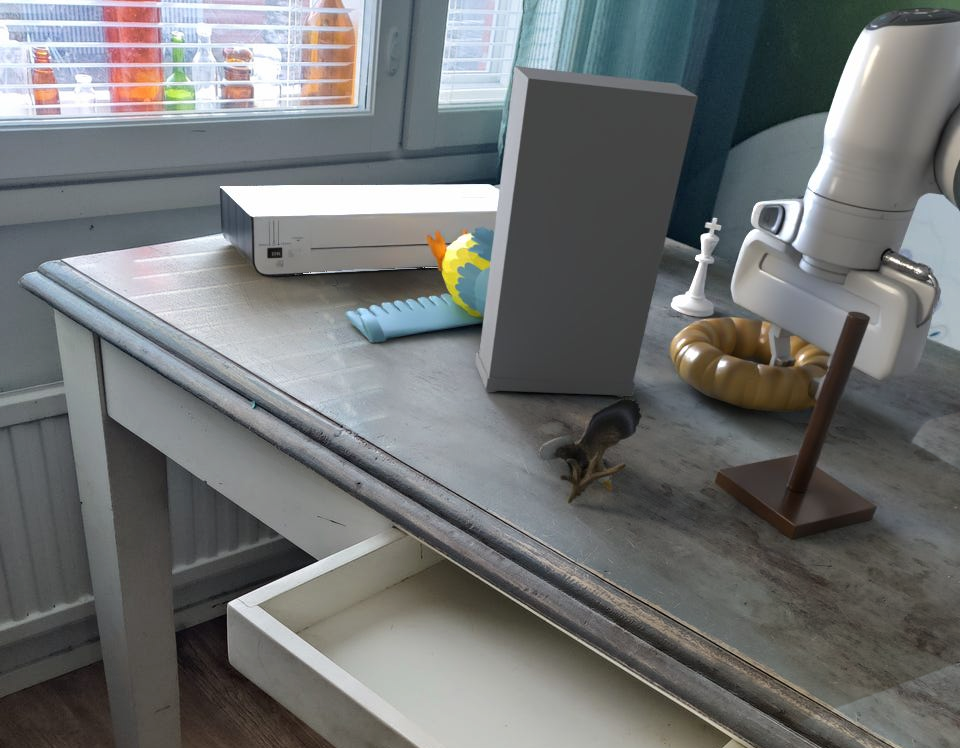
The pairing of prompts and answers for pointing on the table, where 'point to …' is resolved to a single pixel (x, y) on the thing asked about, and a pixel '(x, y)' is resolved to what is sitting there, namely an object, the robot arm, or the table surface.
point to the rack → (807, 462)
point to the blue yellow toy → (466, 305)
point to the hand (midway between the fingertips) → (797, 386)
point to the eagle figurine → (594, 446)
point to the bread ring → (746, 364)
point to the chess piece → (699, 279)
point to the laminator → (350, 224)
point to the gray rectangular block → (580, 229)
